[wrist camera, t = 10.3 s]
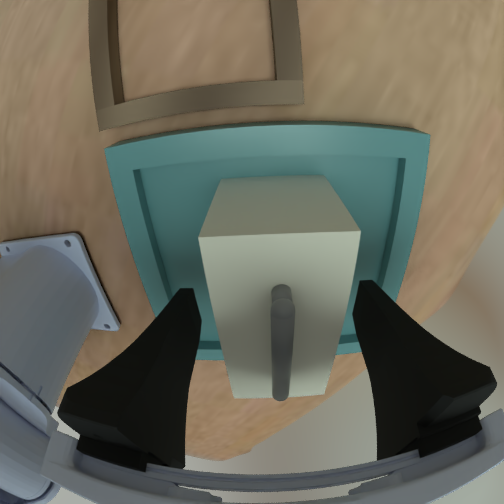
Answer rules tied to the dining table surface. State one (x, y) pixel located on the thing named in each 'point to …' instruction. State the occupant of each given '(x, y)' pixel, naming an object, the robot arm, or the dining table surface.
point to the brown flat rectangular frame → (194, 99)
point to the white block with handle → (278, 281)
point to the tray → (257, 165)
